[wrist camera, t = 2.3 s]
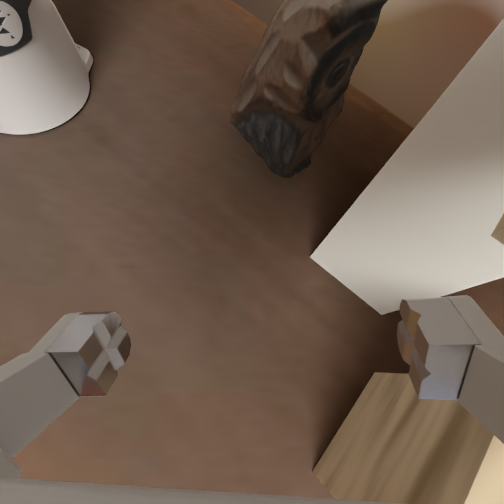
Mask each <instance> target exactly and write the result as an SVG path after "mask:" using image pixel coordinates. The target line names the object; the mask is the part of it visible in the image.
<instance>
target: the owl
mask: <svg viewBox="0 0 504 504" xmlns="http://www.w3.org/2000/svg"><path fill="white" fill-rule="evenodd" d="M386 1H387V0H283V1H282V3H281V5H280V7H279V8H278V11H277V12H276V14H275V15H274V16H273V18H272V19H271V21H270V23H269V25H268V27H267V29H266V32H265V34H264V36H263V39H262V41H261V43H260V46H259V48H258V51H257V53H256V54H255V56H254V58H253V60H252V62H251V63H250V65H249V66H248V67H247V69H246V71H245V73H244V76H243V79H242V84H241V87H240V91H239V94H238V97H237V99H236V101H235V103H234V104H233V106H232V108H231V115H232V117H231V119H230V122H231V123H232V124H233V125H234V126H235V127H236V128H237V129H238V130H239V131H240V132H241V134H242V135H243V136H244V138H245V139H246V140H247V141H248V142H249V143H250V144H251V145H252V146H253V147H254V149H255V152H256V153H257V154H258V155H259V156H261V157H262V158H264V159H265V161H266V163H267V165H268V167H269V168H270V169H271V170H272V172H274V173H276V174H278V175H280V176H282V177H287V178H289V177H292V176H293V175H294V174H295V173H299V172H300V171H302V170H303V169H304V168H307V167H308V166H309V164H311V158H310V155H311V154H312V152H313V151H314V149H315V148H316V147H317V146H318V145H319V144H320V143H321V142H322V140H323V138H324V136H325V133H326V130H327V128H328V126H329V125H330V123H331V122H332V121H333V120H334V119H335V118H336V117H337V116H338V115H339V114H340V112H341V111H342V106H343V102H344V93H345V91H346V89H347V88H348V85H349V81H350V77H351V74H352V72H353V70H354V68H355V66H356V64H357V62H358V60H359V58H360V56H361V54H362V51H363V47H364V45H365V44H366V43H367V42H368V41H369V40H370V38H371V37H372V34H373V32H374V31H375V28H376V26H377V23H378V20H379V15H380V11H381V9H382V6H383V5H384V4H385V3H386Z"/></svg>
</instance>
